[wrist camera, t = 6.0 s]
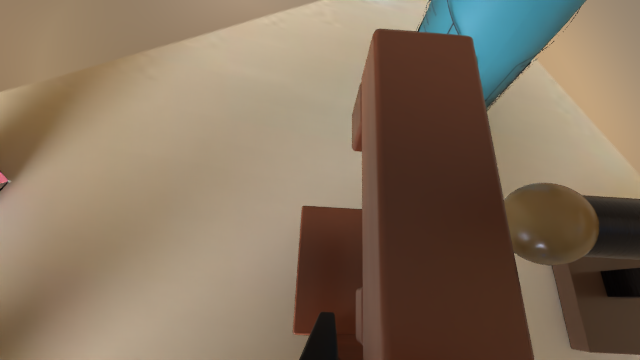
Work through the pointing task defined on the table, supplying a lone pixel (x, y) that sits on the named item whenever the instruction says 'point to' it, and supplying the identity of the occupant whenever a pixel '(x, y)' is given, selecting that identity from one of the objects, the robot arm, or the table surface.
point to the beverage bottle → (500, 33)
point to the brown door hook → (417, 218)
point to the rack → (584, 260)
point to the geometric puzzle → (3, 179)
